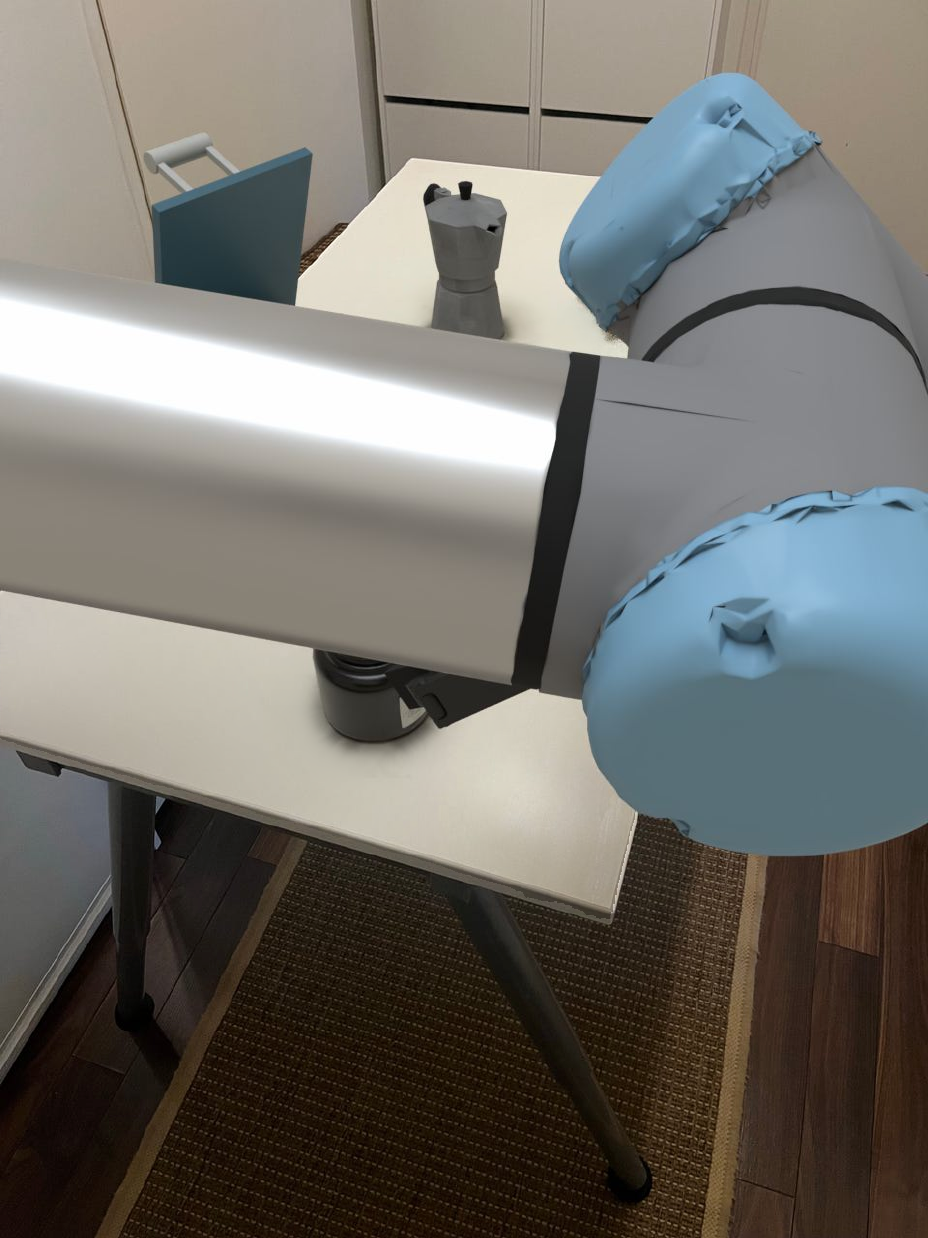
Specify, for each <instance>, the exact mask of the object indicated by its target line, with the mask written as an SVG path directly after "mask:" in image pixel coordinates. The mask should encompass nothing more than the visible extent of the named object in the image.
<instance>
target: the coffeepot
mask: <svg viewBox="0 0 928 1238" xmlns="http://www.w3.org/2000/svg"><path fill="white" fill-rule="evenodd" d="M473 185H474V184H473V182H472V181H468V180H463V181H460V182H458V183H457V186H458V191H459V194H452V191H451V190H449V189H448V188H447V187H441V185H439V184H438V183H434V182H433V183H430V184H429V185H428V186H427V188H426V189H425V191H424V193H423V198H422V201H423V206H424V209H425V214H426V219H427V224H428V230H429V235H430V241H431V247H432V251H433V257H434V262H435V265H436V269H437V272H438V279H437V281H436V287H435V293H434V302H433V310H432V316H431V324H430V328H432V329H438V330H444V331H450V332H456V333H462V334H468V335H474V336H480V337H486V338H492V339H498V340H501V337H502V336H503V335H505V327H504V321H503V315H502V309H501V303H500V296H499V291H498V284H497V281H496V271H497V270H498V269H499V267H500V261H501V254H502V249H503V248H502V247H503V241H504V236H505V229H506V228H505V227H506V224H507V216H508V211H507V210H506V208H505V205H504V203H503V202H502V200H501V199H499V198H495V197H492V196H487V195H484V194H479V193H476V192H472V191H473Z"/></svg>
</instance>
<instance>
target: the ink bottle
mask: <svg viewBox="0 0 928 1238" xmlns="http://www.w3.org/2000/svg"><path fill="white" fill-rule="evenodd" d="M312 660H313V661H312V662H313V666H314V671H315V676H316V680H317V681H316V682H317V686H318V690H319V697H320V702H321V705H322V709H323V713H324V715H325V716H326V719H327V720H328V722H329V723H330V725H331V726H332V727H333V728H334V729H335V730H337V731H338V732H339V733H340V734H342V735H344V736H346V737H349V738H351V739H355V740H361V741H385V740H390V739H394V738H397V737H400V736H402V735H405V734H407V733H409V732H411V731H412V730H414V729H415V728H417V727H418V726H419V725H420V724H421V723H422V722H423V721H424V719H425V718H426V717H427V716H428V713H427V711H426V710H425V709H424V707H422V708H416V709H411V710H409V709H408V707H407V706H406V704H405V703H404V702H403V700H402V699H401V697H400V696H399V694H398V693H397V691H396V690H395V688H394V687H393V685H392V684H391V683H390V681H389V680H388V678H387V677H386V675H385V674H384V672H386V671H387V670H388V669H389V668H390V667H392V666H393V665H397V664H395V663H389V662H384V661H379V660H373V659H368V658H362V657H357V656H352V655H346V654H341V653H335V652H330V651H325V650H319V649H314V648H312Z"/></svg>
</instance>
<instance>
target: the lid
mask: <svg viewBox="0 0 928 1238" xmlns="http://www.w3.org/2000/svg"><path fill="white" fill-rule="evenodd" d="M313 155H314V154H313V152H312V151H310V150H309V149H308V148H307V147H306V146H304V147H302V148H300V149H297V150H293V151H291V152H288V153H286V154H282V155H280V156H277V157H275V158H272V159H270V160H267V161H265V162H262V163H259V164H257V165H253V166H251V167H249V168H246V169H244V170H239V169H238V168H237V167H236V166H235V165H234V164H233V163H231V162H230V161H229V160H228V159H227V158H226V157H225V156H223V155H222V154H221V153H220V152H219V151H218V150H217V149H216V148H215V147H214V144H213V142H212V139H211V137H210V136H209V134H208V133H206V132H204V131H202V132H199V133H196V134H194V135H190V136H188V137H187V136H186V137H184V138H181V139H179V140H175V141H173V142H170V143H167V144H163V145H161V146H158V147H155V148H152V149H149V150H146V151H144V152H143V162H144V164H145V167H146V169H147V170H148V171H149V173H150V174H152V175H157V174H160V176H162V177H163V178H164V179H165V180H166V181H167V182H168V183H169V184H170V185H172V186H173V188H175V189H176V190H177V191H178V192H179V193H180V194H176V195H174V196H171V197H168V198H166V199H164V200H161V201H158V202H155V203H153V204H151V219H152V220H151V225H152V244H153V245H152V246H153V247H152V249H153V267H154V283H159V284H165V285H171V286H178V287H184V288H190V289H196V290H202V291H208V292H214V293H220V294H226V295H232V296H238V297H244V298H250V299H256V300H262V301H268V302H274V303H280V304H286V305H293V306H296V303H297V302H296V301H297V293H298V284H299V276H300V267H301V259H302V251H303V242H304V234H305V233H304V232H305V225H306V215H307V206H308V198H309V192H310V191H309V190H310V181H311V174H312V173H311V172H312V164H313ZM204 157H207V158H208V159H210V160H211V161H212V162H213V163H214V164H215V165H216V166H217V167H218V168H220V169H221V170H222V172H224V173H225V174H226V175H227V176H224V177H222V178H219V179H217V180H213V181H211V182H209V183H206V184H203V185H200V186H198V187H196V188H193V187H192V186H191V185H189V183H188V182H187V181H186V180H184V179H183V178H182V177H181V176H180V175H179V174H178V173H176V172H175V171H174V170H173V169H174V168H177V167H180V166H182V165H185V164H188V163H190V162H193V161H196V160H199V159H202V158H204Z"/></svg>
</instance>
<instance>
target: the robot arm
mask: <svg viewBox="0 0 928 1238" xmlns="http://www.w3.org/2000/svg"><path fill="white" fill-rule="evenodd" d="M820 146H823V140H822V139H821V138H820V137H819V136H818V134H817V132H815V131H812V130H804V129H803V128H802V127H801V126H800V125H799V124H798V122H796V120H795V119H793V118H792V116H790V114H788V113H787V111H785V109H783V108H782V106H781V105H780V104H779V103H778V102H777V101H776V100H775V99H774V98H773V97H772V96H771V95H770V94H769V93H768V92H767V91H766V90H765V89H764V88H763V87H762V86H761V85H760V84H759V83H758V82H757V81H756V80H754V79H752V78H751V77H750V76H748V75H746V74H744V73H738V72H721V73H718V74H714V75H710V76H708V77H705V78H704V79H702V80H700V81H697V82H696V83H695V84H693V85H691V86H690V87H688V88H687V89H686V90H684V91H683V92H682V93H679V94H678V96H676V97H675V98H674V99H672V100H671V101H670V102H669V103H668V104H666V106H665V107H663V108H662V109H661V110H660V111H659V112H658V113H657V114H655V115H654V117H652V119H651V120H649V122H647V123H646V124H645V126H643V127H642V129H641V130H639V132H638V133H637V134H636V135H635V136H634V137H632V139H631V140H630V141H629V142H628V144H627V145H626V146H625V147H624V148H623V149H622V151H621V152H620V153H619V154H618V155H617V156H616V158H614V160H613V161H612V162H611V163H610V165H609V166H608V167H607V169H605V171H604V172H603V173H602V175H601V176H600V177H599V179H598V180H597V181H596V183H595V184H594V185H593V187H592V188H591V189H590V191H589V192H588V194H587V195H586V196H585V198H584V199H583V201H582V203H581V204H580V206H579V207H578V208H577V210H576V212H575V214H574V215H573V217H572V219H571V221H570V222H569V225H568V227H567V229H566V231H565V233H564V235H563V238H562V241H561V244H560V249H559V252H558V253H559V254H558V266H559V267H558V268H559V271H560V272H559V273H560V275H561V277H562V278H563V281H564V284H565V285H566V286H567V288H569V290H570V291H572V293H573V294H574V295H575V296H576V297H577V298H578V299H579V300H580V301H581V303H582V304H584V306H585V307H586V308H587V309H588V310H589V311H590V313H591V314H592V315H593V316H594V317H595V324H597V325H598V327H599V328H600V329H601V330H602V331H604V332H605V333H608V331H609V332H610V333H611V334H612V335H614V336H615V337H616V338H618V339H619V340H620V341H622V342H623V344H625V345H626V346H627V356H626V357H619V356H609V355H599V354H593V353H586V352H579V351H573V350H572V351H570V350H565V349H558V348H554V347H553V348H551V347H546V346H540V345H535V344H529V343H522V342H516V341H509V340H504V339H499V340H498V339H492V338H486V337H480V336H474V335H468V334H462V333H456V332H450V331H444V330H438V329H432V328H431V327H425V326H419V325H413V324H407V323H401V322H395V321H388V320H382V319H377V318H371V317H364V316H359V315H353V314H346V313H342V312H341V313H340V312H334V311H329V310H323V309H316V308H310V307H304V306H300V305H299V306H298V305H295V306H293V305H286V304H280V303H274V302H268V301H262V300H256V299H250V298H244V297H238V296H232V295H226V294H220V293H214V292H208V291H202V290H196V289H190V288H184V287H178V286H171V285H165V284H159V283H155V282H153V281H146V280H140V279H134V278H129V277H122V276H118V275H117V276H116V275H112V274H111V275H110V274H105V273H99V272H91V271H86V270H80V269H73V268H67V267H64V266H63V267H61V266H57V265H51V264H44V263H39V262H32V261H26V260H20V259H15V258H14V259H13V258H7V257H1V256H0V591H1V592H6V593H7V592H8V593H13V594H17V595H23V596H29V597H33V598H39V599H44V600H51V601H55V602H61V603H66V604H72V605H77V606H83V607H88V608H94V609H98V610H103V611H109V612H114V613H120V614H126V615H132V616H136V617H142V618H146V619H153V620H158V621H163V622H169V623H174V624H179V625H185V626H190V627H196V628H200V629H207V630H211V631H217V632H221V633H222V632H223V633H229V634H233V635H237V636H238V635H240V636H244V637H250V638H255V639H259V640H260V639H262V640H266V641H272V642H276V643H281V644H287V645H293V646H299V647H304V648H310V649H313V648H314V649H319V650H325V651H330V652H335V653H341V654H346V655H352V656H357V657H362V658H368V659H373V660H379V661H384V662H389V663H395V664H397V665H393V666H392V667H390V668H389V669H388V670H387V671H386V672H384V674H385V675H386V677H387V678H388V680H389V681H390V683H391V684H392V685H393V687H394V688H395V690H396V691H397V693H398V694H399V696H400V697H401V699H402V700H403V702H404V703H405V704H406V706H407V707H408V709H409V710H411V709H416V708H422V707H424V709H425V710H426V711H427V715H428V716H429V718H430V719H431V720H432V722H433V723H434V724H435V726H436V728H437V729H438V730H441V729H445V728H448V727H449V726H451V725H453V724H455V723H458V722H459V721H461V720H464V719H466V718H468V717H471V716H474V715H475V714H477V713H479V712H482V711H484V710H486V709H489V708H491V707H493V706H495V705H497V704H500V703H502V702H504V701H506V700H509V699H511V698H513V697H515V696H518V695H520V694H523V693H525V692H527V691H529V690H536V691H538V692H539V694H544V695H550V696H555V697H561V698H566V699H573V700H578V701H581V704H582V710H583V713H584V716H586V732H587V736H588V742H589V746H590V752H591V754H592V757H593V759H594V762H595V765H596V767H597V769H598V770H599V771H600V774H602V776H603V777H604V778H605V780H606V781H607V782H608V783H609V784H610V786H611V787H612V788H613V790H614V791H615V793H616V794H617V796H618V798H619V799H620V800H622V801H623V802H624V803H625V804H627V805H628V806H629V807H631V808H632V809H633V810H634V811H635V812H636V813H638V814H640V815H644V816H647V817H651V818H654V819H668V820H669V821H671V822H672V823H674V825H675V826H676V827H677V830H679V832H680V833H681V835H682V836H683V837H686V838H688V839H690V840H692V841H693V842H697V843H699V844H702V845H705V846H708V847H712V848H716V849H719V850H725V851H728V852H729V851H730V852H734V853H741V854H747V855H758V856H767V857H807V856H808V857H809V856H811V857H812V856H823V855H831V854H832V855H833V854H838V853H844V852H849V851H855V850H860V849H864V848H867V847H871V846H875V845H878V844H881V843H885V842H887V841H891V840H893V839H896V838H899V837H902V836H903V835H906V834H908V833H910V832H912V831H914V830H918V829H919V828H921V827H923V826H925V825H927V824H928V276H927V274H926V273H925V272H924V271H923V270H922V268H921V267H920V266H919V264H917V262H916V261H915V260H914V259H913V257H912V256H911V255H910V254H909V252H907V250H906V249H905V248H904V246H903V245H902V244H901V243H900V242H899V241H898V240H897V238H896V237H895V236H894V235H893V233H891V231H890V230H889V228H887V227H886V225H885V224H884V222H883V221H882V220H881V219H880V218H879V216H878V215H877V214H876V213H875V212H874V211H873V209H872V208H871V207H870V206H869V205H868V203H867V202H866V201H865V200H864V198H863V197H862V196H861V195H860V194H859V192H858V191H857V190H856V189H855V188H854V187H853V185H852V184H851V183H850V181H849V180H848V179H847V178H846V177H845V176H844V174H842V172H841V171H840V170H839V168H838V167H837V166H836V165H835V164H834V162H833V161H832V160H831V159H830V157H828V155H827V154H826V152H824V150H823V149H822V148H821V147H820Z"/></svg>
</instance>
